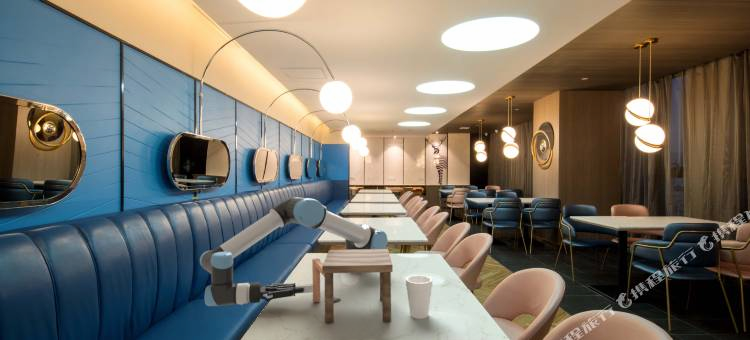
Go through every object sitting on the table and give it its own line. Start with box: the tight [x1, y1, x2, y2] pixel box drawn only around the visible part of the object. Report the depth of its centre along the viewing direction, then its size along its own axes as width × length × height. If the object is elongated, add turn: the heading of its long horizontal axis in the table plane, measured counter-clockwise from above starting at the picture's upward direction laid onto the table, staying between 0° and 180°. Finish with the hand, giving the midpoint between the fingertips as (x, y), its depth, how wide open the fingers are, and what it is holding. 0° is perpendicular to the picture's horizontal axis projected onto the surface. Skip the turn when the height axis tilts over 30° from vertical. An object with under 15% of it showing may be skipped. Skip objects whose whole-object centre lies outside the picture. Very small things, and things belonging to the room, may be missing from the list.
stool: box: [322, 248, 394, 325], centre depth 135 cm, size 24×24×20 cm
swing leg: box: [311, 257, 325, 303], centre depth 135 cm, size 20×3×16 cm, turn 22°
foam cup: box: [405, 274, 433, 320], centre depth 129 cm, size 10×9×13 cm
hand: (312, 288), depth 141 cm, fingers closed
